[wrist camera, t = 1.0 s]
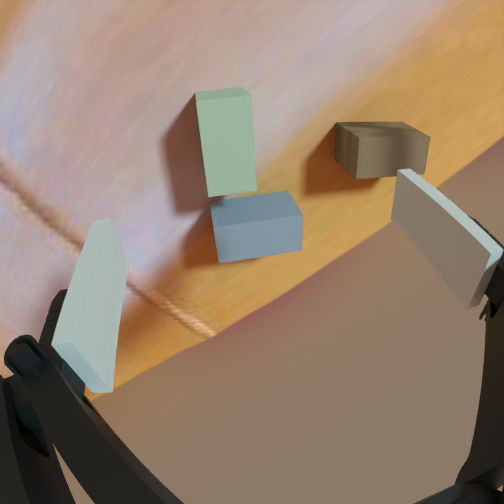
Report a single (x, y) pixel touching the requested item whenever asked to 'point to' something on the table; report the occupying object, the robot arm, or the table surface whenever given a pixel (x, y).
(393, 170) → the walnut block
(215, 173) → the sage block
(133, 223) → the table surface
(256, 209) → the slate block
